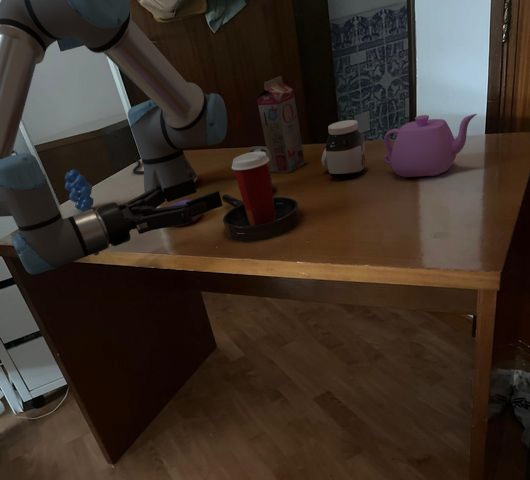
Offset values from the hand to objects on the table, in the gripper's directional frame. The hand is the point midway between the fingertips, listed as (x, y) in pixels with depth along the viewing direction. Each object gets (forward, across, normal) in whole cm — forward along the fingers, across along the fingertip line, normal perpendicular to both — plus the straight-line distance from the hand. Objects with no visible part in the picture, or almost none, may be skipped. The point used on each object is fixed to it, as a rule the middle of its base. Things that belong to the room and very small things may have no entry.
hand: (206, 191), depth 104 cm
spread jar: (+39, -12, -11) cm, 42 cm away
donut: (-1, -20, -11) cm, 23 cm away
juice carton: (+34, -31, -11) cm, 47 cm away
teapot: (+50, +6, -11) cm, 52 cm away
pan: (+10, 0, -11) cm, 15 cm away
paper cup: (+10, 0, -10) cm, 15 cm away
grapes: (-17, -55, -11) cm, 58 cm away
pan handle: (+10, -14, -11) cm, 20 cm away
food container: (+20, -18, -11) cm, 29 cm away
